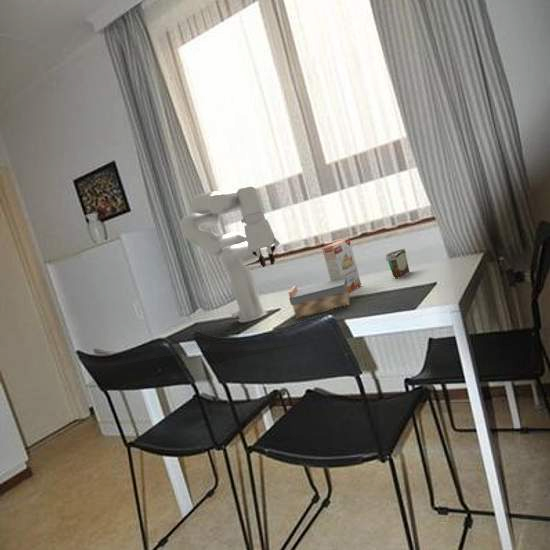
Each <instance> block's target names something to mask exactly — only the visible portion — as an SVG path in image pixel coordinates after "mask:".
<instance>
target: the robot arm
mask: <svg viewBox="0 0 550 550" xmlns="http://www.w3.org/2000/svg"><path fill="white" fill-rule="evenodd" d="M191 208H192V210H193V211H194V212H192V213H189V214H187V215H186V216H184V217H183V218H181V220H180V223H179V225H180V229H181V232H182V234H183V235H184V238H185V239H187V241H189V242H190V243H192V244H194V245H195V246H198V247H200V248H202V249H203V250H204V251H206V252H208V253H209V254H211V255H212V256H214V257H216V258H219V259H220V260H221V263H222V265H223V267H224V269H225V271H226V273H227V275H228V279H229V281H230V284H231V287H232V290H233V294H234V296H235V300H236V303H237V306H238V311H236V312H233V313H232V312H231V317H232V318H238V322H239V323H249V322H252V321H255V320H258V319H261V318H263V317H266V316H267V315H268V313H269V312H268V311H267V310H266V309H263V306H262V302H261V300H260V299H261V298H260V296H259V292H258V288H257V286H256V282H255V279H254V276H253V274H252V272H251V271H250V270H249V269H248V268H247V267H246V266H247V265H251V264H252V263H253V264H254V263H255V262H257V261H259V263H260V265H261V266H262V268H265V267H266V266H267V263H266V261H265V256H264V255H263V254H262V249H263V248H266V249H267V251H268V259H269V262H270V265H272V266H273V265H274V264H275V262H276V259H275V255H274V252H275V249H277V247H278V246H279V245H280V241H279V240H278V239H277V238H276V237H275V233H274V231H273V229H272V227H271V224H270V222H269V221H268V218H266V216H265V213H264V211H263V208H262V203H261V200H260V196H259V193H258V190H257V187H256V186H255V185H254V184H253V185H247V186H243V187H241V188H239V189H237V190H233V191H228V192H224V193H221V192H220V191H217V190H216V191H215V190H214V191H213V190H212V191H209V192H204V193H200V194H197V195H196V196H195V197H193V198H192V201H191ZM240 210H241V212H242V215H243V218H242V219H241V220H240V221H241V223H242V224H245V225H244V234H243V233H242V232H238V231H231V232H227V233H224V234H217V233H215V232H214V231H212V230H208V229H211V228H214V227H217V225H218V224H219V223H220V219H221V217H222V215H225V214H229V213H232V212H236V211H240Z"/></svg>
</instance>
